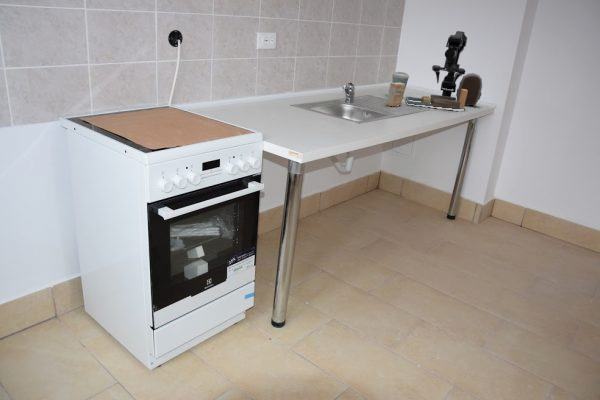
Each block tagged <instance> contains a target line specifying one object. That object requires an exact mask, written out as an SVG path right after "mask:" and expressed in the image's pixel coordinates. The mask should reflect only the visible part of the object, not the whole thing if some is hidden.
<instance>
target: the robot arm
mask: <svg viewBox="0 0 600 400" xmlns="http://www.w3.org/2000/svg"><path fill="white" fill-rule="evenodd" d="M465 34H466V33H465V31H462V30H461V31H459V30H458V31H457V30H456V31H455V34H450V36H448V37H447V38H448V39H447V42H446V45H445V47H446V48H447V49H446V50H445V51H444V57H445V61H444V62H445V63H444V65H443V67H442V66H440V65H436V64H433V65H432V66H431V70H432V71H433V72H434V73H435V75H436V83H437V84H439V82H440V74H441V71H444V72H447V75H445V76H444V78H443V80H442V81H441V85H440V91H442V92H441V93H442V94H441V96H448V97H452V94H453V93H456V92H457V83H456V82H457V80H458V79H459V78H460V77H463V75H466V69H464V68H461V67H460V64H459V59H460V55H461V54H462V52H463V51H464V50H465V47H466V46H467V42H468V37H467V36H466V35H465Z"/></svg>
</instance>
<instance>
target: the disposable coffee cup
mask: <svg viewBox="0 0 600 400" xmlns="http://www.w3.org/2000/svg"><path fill="white" fill-rule="evenodd" d="M391 78H392V79H391V81H392V82H391V83H403V84H405V89H404V92H405V91H406V88H407V84H408V81H409V78H410V76H409V74H408V73H406V72H404V71H403V72H402V71H394V72H393V73H392V74H391Z"/></svg>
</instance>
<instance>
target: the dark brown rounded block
mask: <svg viewBox="0 0 600 400" xmlns="http://www.w3.org/2000/svg"><path fill="white" fill-rule="evenodd" d="M482 88H483V79H482V77H481V76H480V75H479V74H476V73H474V72H472V73H467V74H464V75H462V78H461V79H460V82H459V85H458V88H456V92H455V93H456V94H455V96H456V101H457V102H458V101H459V97H460V93H461V89H466V90H468V92H467V97H466V101H465V105H464V106H466V105H473V106H472V107H474V106H475V107H476V105H477V104H478V101H479V100H480V99H481V96H482Z"/></svg>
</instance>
